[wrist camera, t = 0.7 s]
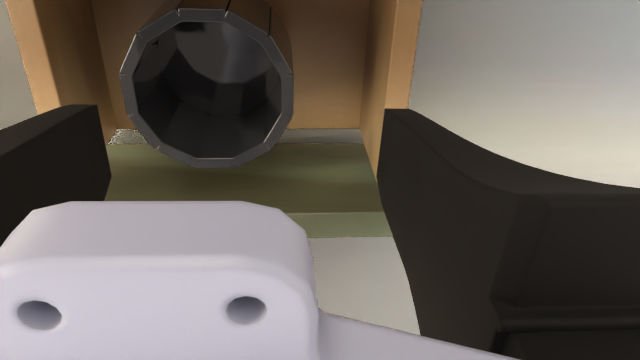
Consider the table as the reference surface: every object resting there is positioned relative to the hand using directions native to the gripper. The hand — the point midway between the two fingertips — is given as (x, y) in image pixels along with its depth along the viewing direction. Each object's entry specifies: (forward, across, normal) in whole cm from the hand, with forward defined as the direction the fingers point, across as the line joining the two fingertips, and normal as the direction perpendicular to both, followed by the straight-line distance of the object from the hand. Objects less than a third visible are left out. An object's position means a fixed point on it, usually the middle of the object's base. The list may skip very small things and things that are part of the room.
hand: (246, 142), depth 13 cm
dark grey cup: (+8, +1, 0) cm, 8 cm away
